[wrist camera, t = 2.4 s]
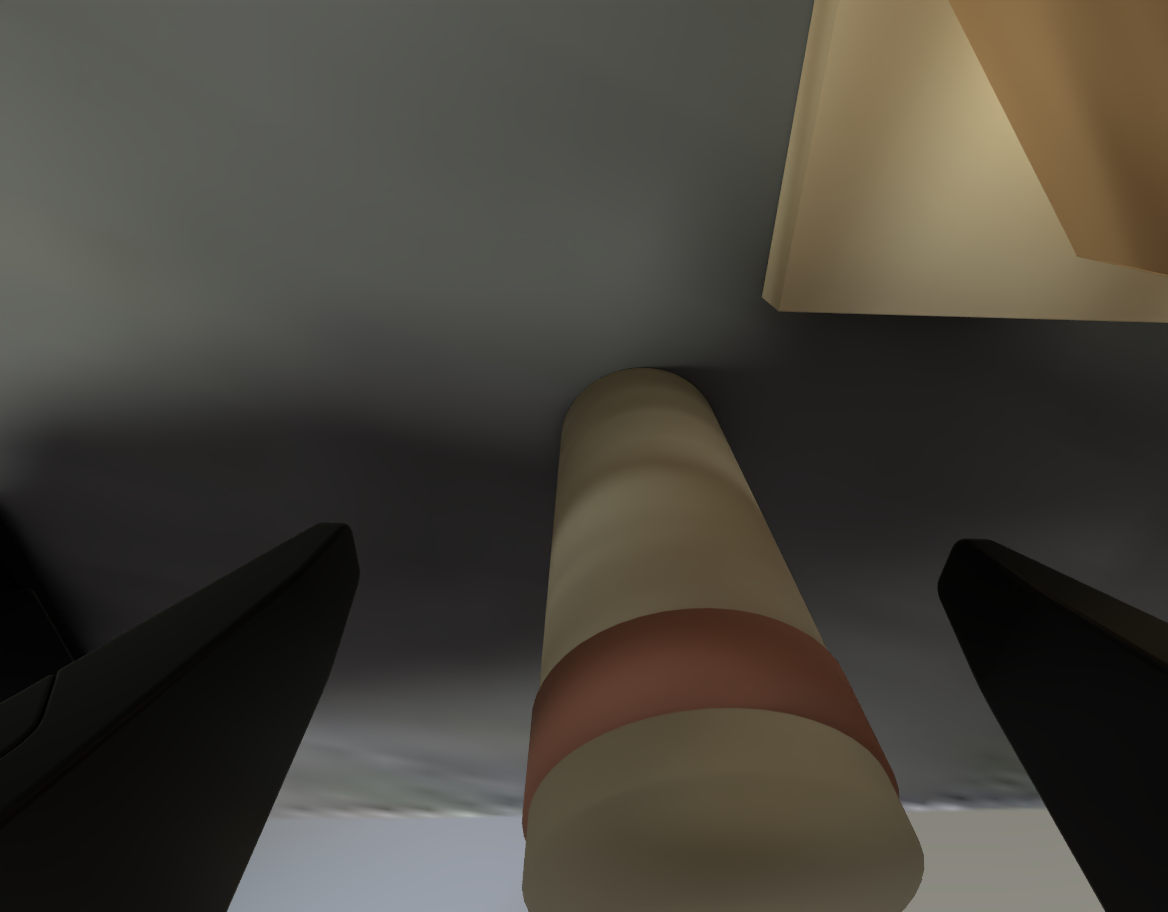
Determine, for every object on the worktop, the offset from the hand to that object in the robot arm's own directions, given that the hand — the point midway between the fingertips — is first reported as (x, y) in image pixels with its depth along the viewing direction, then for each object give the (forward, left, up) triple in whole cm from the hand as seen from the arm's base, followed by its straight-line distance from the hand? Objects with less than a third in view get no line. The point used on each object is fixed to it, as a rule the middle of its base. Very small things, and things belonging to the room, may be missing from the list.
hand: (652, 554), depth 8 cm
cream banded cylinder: (0, 0, -4) cm, 4 cm away
